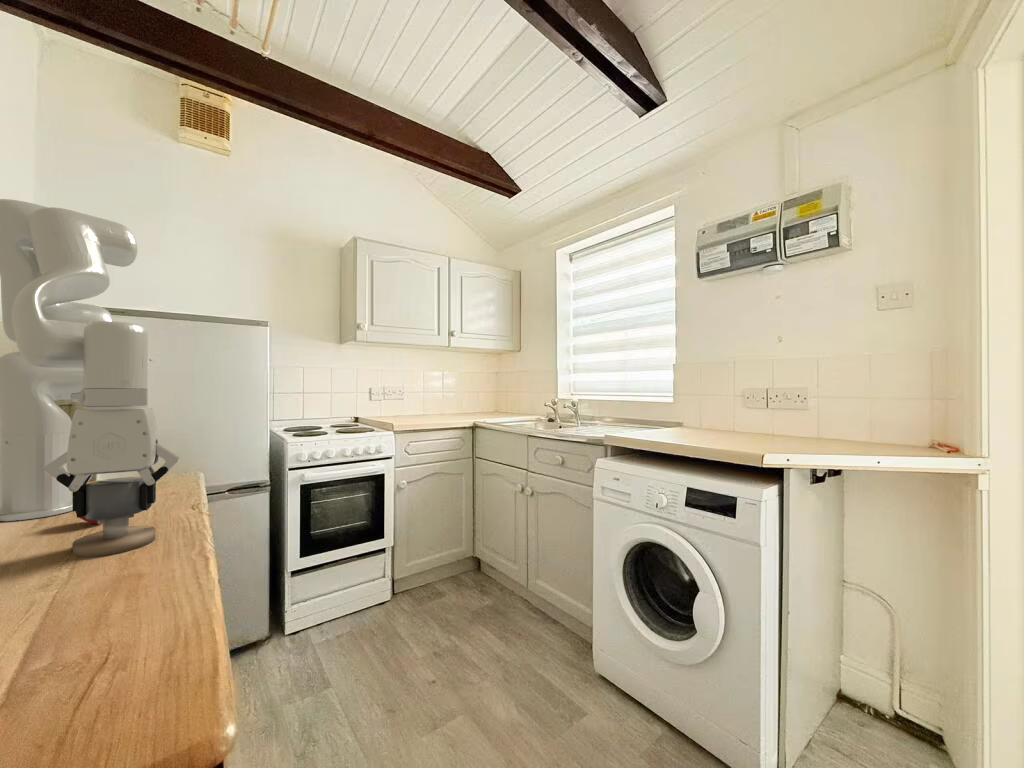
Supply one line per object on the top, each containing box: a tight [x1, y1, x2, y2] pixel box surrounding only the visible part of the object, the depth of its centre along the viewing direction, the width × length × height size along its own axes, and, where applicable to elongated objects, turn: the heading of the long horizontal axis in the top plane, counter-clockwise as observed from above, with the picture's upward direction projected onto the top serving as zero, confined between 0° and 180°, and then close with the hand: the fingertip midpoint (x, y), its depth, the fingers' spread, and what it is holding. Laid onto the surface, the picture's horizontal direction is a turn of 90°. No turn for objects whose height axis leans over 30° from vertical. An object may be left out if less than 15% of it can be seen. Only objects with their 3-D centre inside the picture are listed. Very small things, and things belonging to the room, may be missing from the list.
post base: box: [72, 514, 156, 558], centre depth 68 cm, size 10×10×5 cm
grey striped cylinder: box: [86, 476, 144, 520], centre depth 68 cm, size 7×8×5 cm
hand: (115, 510), depth 67 cm, fingers closed on grey striped cylinder, 6 cm apart
